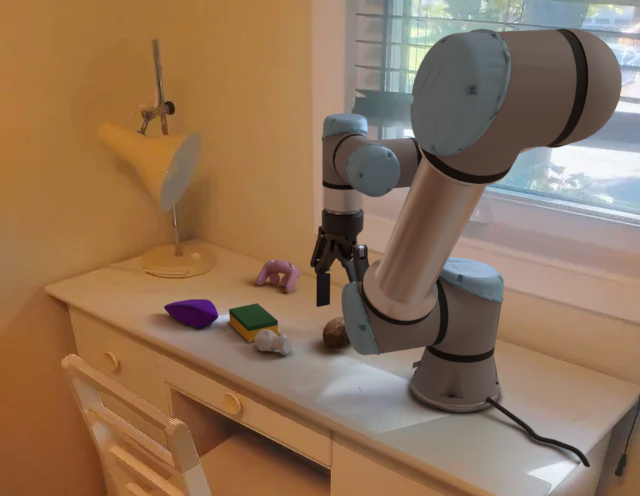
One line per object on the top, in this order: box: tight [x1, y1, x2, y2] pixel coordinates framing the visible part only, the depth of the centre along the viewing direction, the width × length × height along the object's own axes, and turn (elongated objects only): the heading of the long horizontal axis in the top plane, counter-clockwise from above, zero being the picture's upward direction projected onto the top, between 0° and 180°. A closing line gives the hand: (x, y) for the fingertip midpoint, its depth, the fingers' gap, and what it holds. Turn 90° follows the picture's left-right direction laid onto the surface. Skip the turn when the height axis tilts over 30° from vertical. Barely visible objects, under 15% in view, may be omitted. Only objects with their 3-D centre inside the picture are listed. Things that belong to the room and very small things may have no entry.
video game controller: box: [255, 259, 301, 294], centre depth 166 cm, size 10×5×7 cm, turn 58°
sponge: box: [228, 302, 279, 343], centre depth 146 cm, size 10×6×3 cm, turn 29°
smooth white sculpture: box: [254, 329, 292, 356], centre depth 138 cm, size 4×8×5 cm
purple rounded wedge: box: [163, 298, 219, 329], centre depth 149 cm, size 5×5×15 cm
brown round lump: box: [322, 316, 351, 352], centre depth 140 cm, size 8×8×6 cm
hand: (340, 318), depth 138 cm, fingers open, 13 cm apart
